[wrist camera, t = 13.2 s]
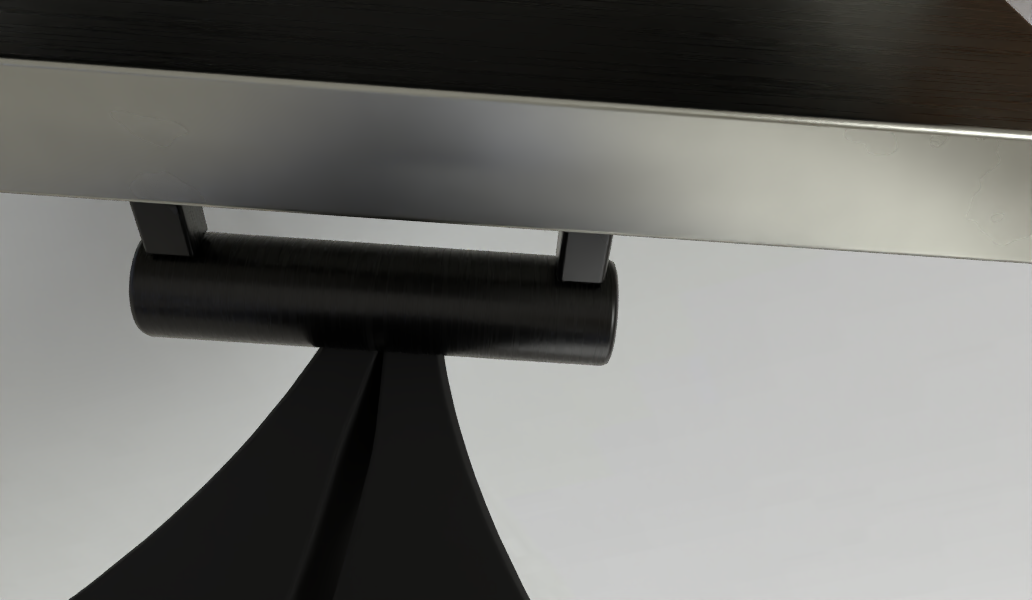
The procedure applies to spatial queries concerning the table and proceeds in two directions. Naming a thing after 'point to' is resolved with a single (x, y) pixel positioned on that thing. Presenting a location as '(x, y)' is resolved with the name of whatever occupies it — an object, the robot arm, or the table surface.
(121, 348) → the table surface
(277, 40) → the drawer
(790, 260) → the table surface
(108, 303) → the table surface
